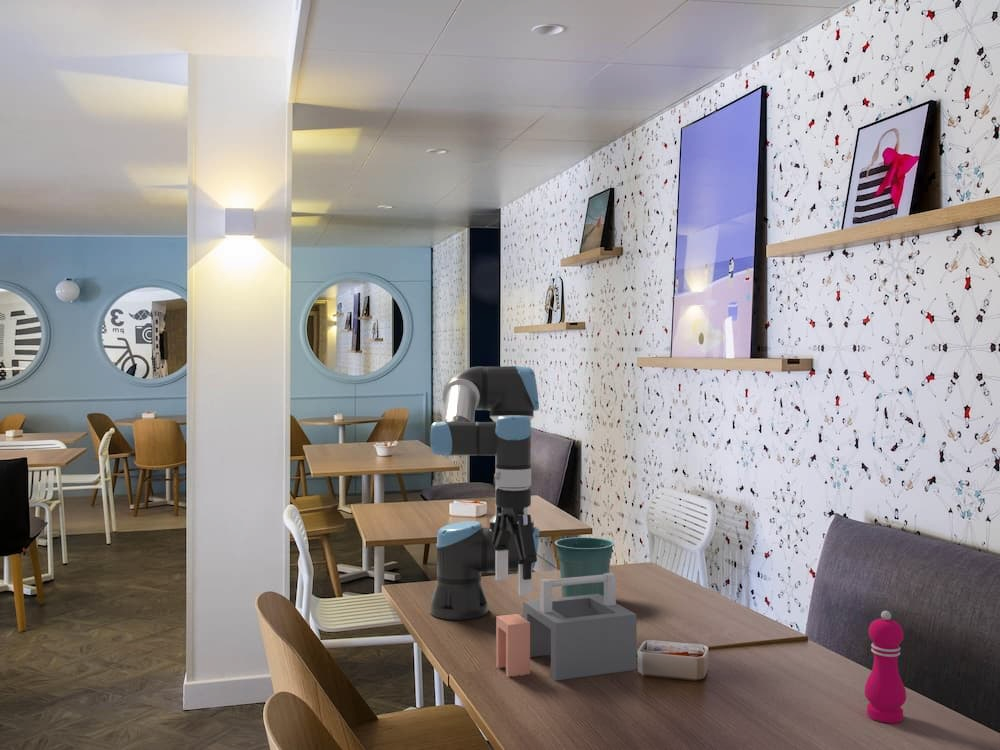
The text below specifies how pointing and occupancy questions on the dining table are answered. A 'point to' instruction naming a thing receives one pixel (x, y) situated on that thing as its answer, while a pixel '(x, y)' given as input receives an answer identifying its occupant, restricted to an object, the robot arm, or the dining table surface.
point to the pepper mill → (885, 672)
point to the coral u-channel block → (513, 644)
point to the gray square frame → (582, 629)
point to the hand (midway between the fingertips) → (513, 587)
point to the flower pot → (583, 563)
